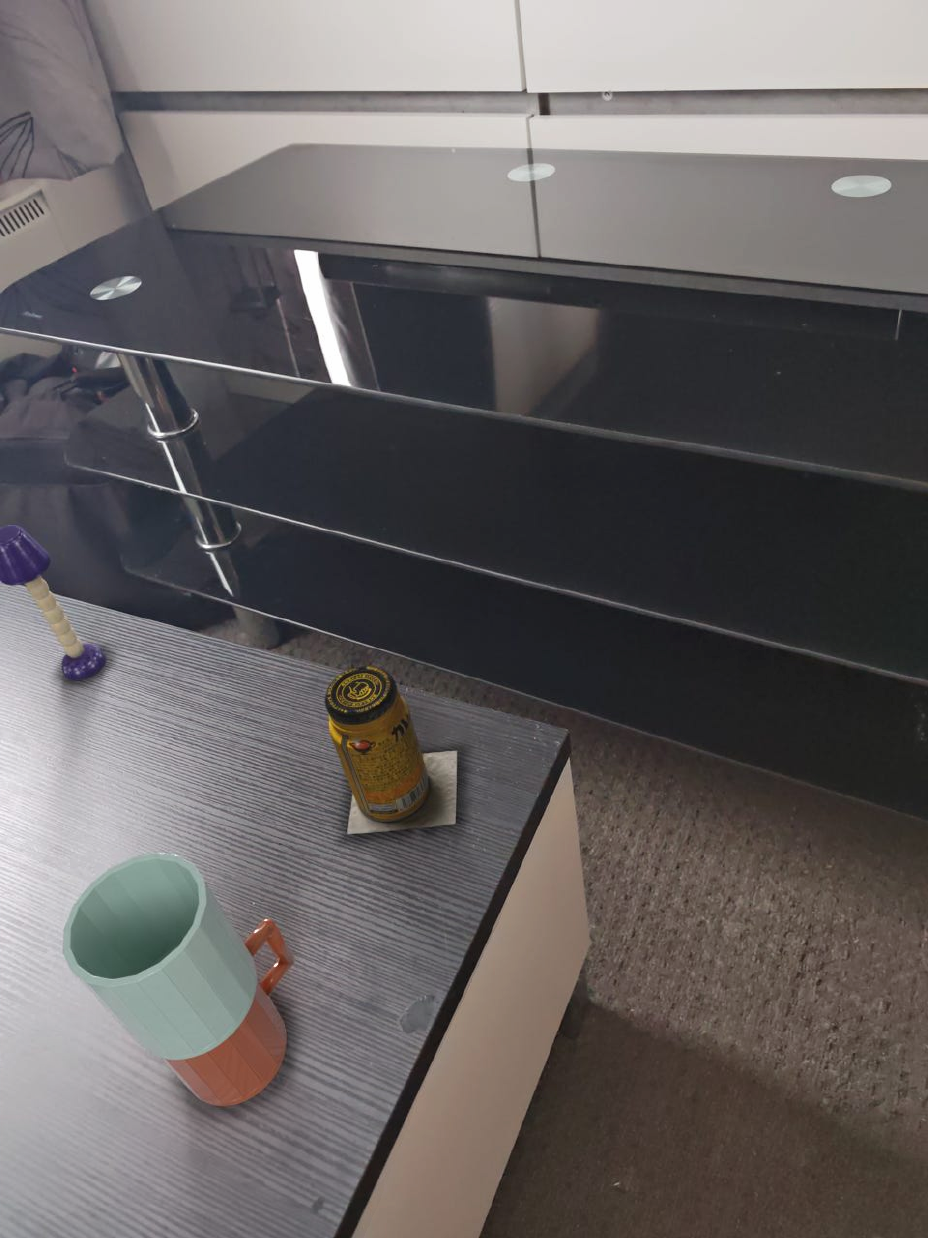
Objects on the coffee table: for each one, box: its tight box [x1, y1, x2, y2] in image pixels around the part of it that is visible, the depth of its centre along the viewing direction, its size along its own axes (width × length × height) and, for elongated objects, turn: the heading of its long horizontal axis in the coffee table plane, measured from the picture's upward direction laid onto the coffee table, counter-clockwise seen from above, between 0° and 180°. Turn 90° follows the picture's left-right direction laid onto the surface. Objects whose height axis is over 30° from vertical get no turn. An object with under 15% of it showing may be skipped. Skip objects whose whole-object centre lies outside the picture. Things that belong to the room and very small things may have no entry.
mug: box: [160, 917, 295, 1107], centre depth 58 cm, size 10×7×8 cm
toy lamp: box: [0, 524, 107, 681], centre depth 85 cm, size 5×5×17 cm
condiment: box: [324, 665, 458, 835], centre depth 69 cm, size 7×8×12 cm
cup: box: [62, 852, 258, 1060], centre depth 51 cm, size 8×8×9 cm
